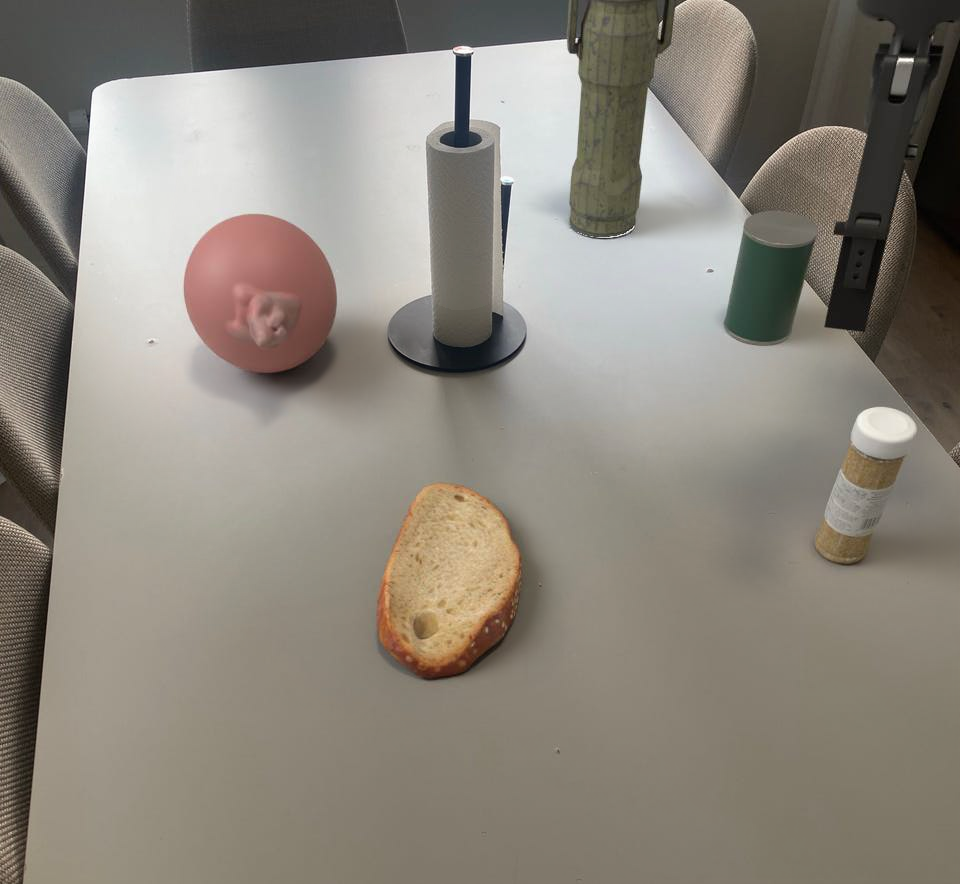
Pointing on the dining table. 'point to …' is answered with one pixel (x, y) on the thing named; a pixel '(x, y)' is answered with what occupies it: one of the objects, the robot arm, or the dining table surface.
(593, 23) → the thermos
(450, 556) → the bread slice
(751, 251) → the tin can
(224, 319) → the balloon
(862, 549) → the sprinkles bottle
